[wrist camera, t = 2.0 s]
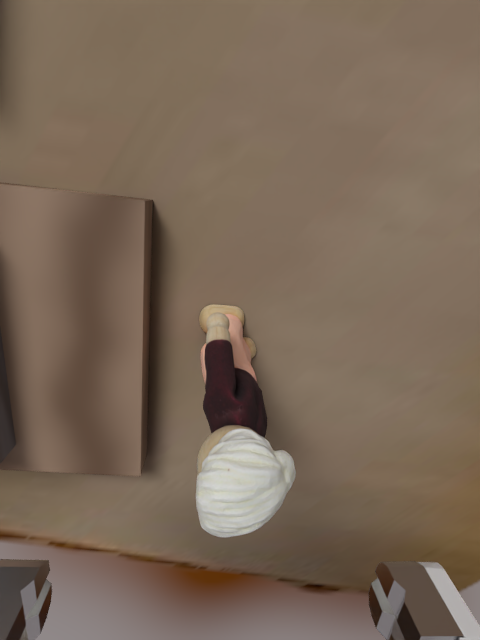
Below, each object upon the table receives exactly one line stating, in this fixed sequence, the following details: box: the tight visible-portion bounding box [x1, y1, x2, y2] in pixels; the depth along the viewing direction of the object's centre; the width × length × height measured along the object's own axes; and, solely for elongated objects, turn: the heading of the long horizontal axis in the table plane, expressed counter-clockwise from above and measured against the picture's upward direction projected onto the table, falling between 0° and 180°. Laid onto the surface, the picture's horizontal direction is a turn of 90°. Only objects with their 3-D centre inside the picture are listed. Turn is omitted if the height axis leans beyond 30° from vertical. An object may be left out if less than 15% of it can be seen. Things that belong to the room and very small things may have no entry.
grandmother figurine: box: [196, 305, 296, 537], centre depth 16 cm, size 8×4×13 cm, turn 28°
